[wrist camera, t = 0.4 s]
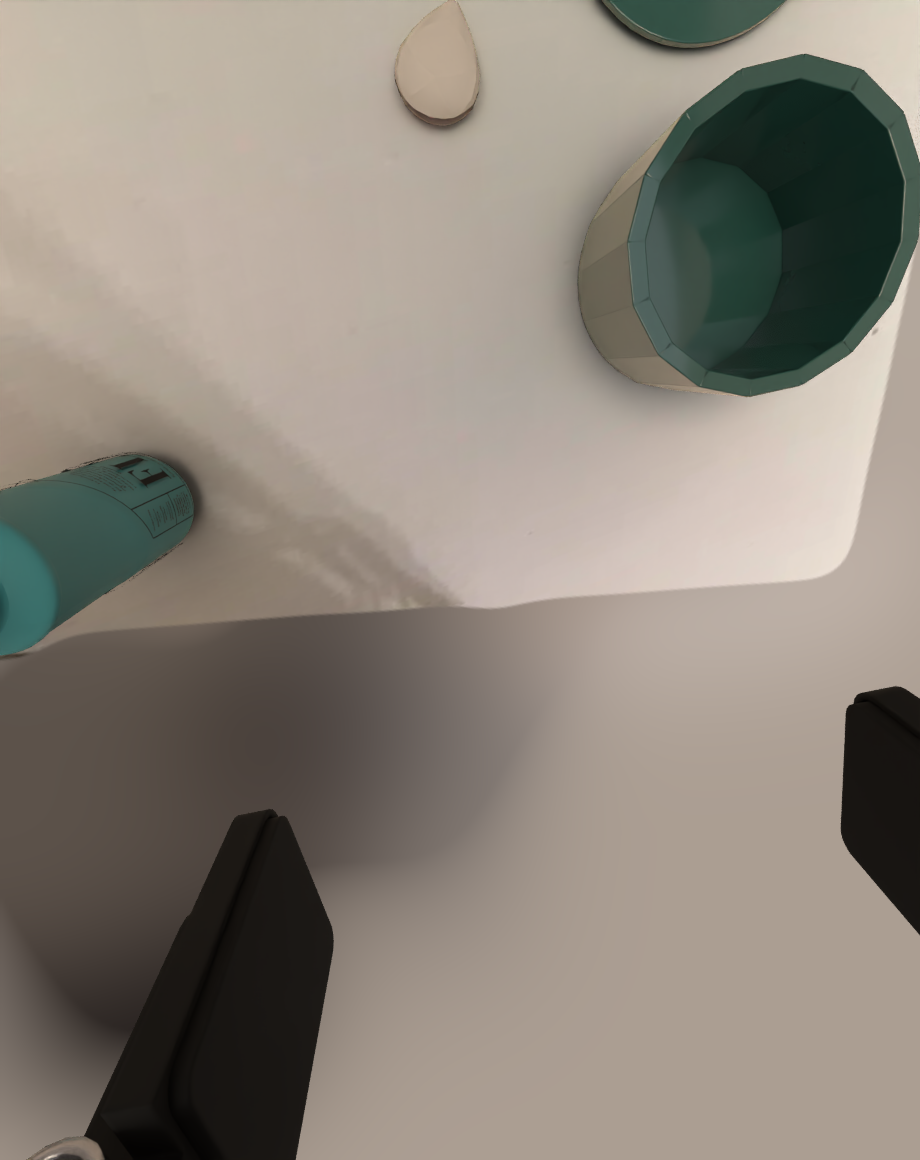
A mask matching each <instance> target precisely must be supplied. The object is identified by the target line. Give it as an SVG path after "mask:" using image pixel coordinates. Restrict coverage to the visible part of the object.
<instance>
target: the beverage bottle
mask: <svg viewBox="0 0 920 1160" xmlns="http://www.w3.org/2000/svg"><path fill="white" fill-rule="evenodd" d="M128 453H132V452H127V453H124V454H128ZM139 454H141V453H139ZM144 455H145V454H144ZM111 456H112V455H111ZM116 456H118V455H116ZM112 457H114V456H112ZM106 458H110V457H108V456H107V457H106ZM104 459H105V458H104ZM97 460H101V458H100V459H97ZM97 460H95V461H97ZM93 461H94V460H93ZM93 461H90V462H93ZM86 463H88V462H86ZM86 463H83V464H86ZM93 463H94V462H93ZM79 465H80V464H79ZM75 467H76V466H75ZM78 467H79V466H78ZM70 468H71V467H70ZM72 468H73V467H72ZM68 469H69V468H68ZM61 472H62V473H60V474H56V475H53V476H50V477H46V478H43V479H39V480H34V481H32V482H29V483H26V484H22V485H19V486H16V485H17V484H18V483H15V484H16V485H15V487H12V488H11V487H9V489H7V488H5V489H6V490H3V489H2V491H0V655H7V654H12V653H16V652H20V651H23V650H25V649H27V648H29V647H31V646H33V645H35V644H36V643H38V642H39V641H40V640H42V639H43V638H44V637H45V636H46V635H47V634H48V633H49V632H50V631H52V630H53V629H55V628H56V627H58V626H59V625H60V624H62V623H63V622H65V621H66V620H68V619H69V618H71V617H72V616H73V615H75V614H76V613H78V612H79V611H81V610H82V609H83V608H85V607H86V606H88V605H89V604H91V603H92V602H94V601H95V600H96V599H98V598H99V597H101V596H102V595H104V594H107V592H109V591H110V590H112V589H113V588H114V587H116V586H117V585H119V584H121V583H123V582H124V581H126V580H127V579H129V578H130V577H131V576H133V575H134V574H136V573H137V572H139V571H140V570H141V569H143V568H144V567H146V566H148V565H149V564H150V563H151V562H153V561H154V560H156V559H157V558H158V557H160V556H161V555H164V553H166V552H167V551H169V550H170V549H171V548H173V547H174V546H176V545H177V544H179V543H180V542H181V541H182V540H183V539H184V537H185V536H186V535H187V533H188V531H189V529H190V527H191V524H192V521H193V516H194V504H193V499H192V496H191V493H190V491H189V488H188V487H187V485H186V483H185V482H184V480H183V479H182V478H181V476H180V475H179V474H178V473H177V472H176V471H175V470H174V469H173V468H171V467H170V466H168V465H167V464H165V463H164V462H162V461H160V460H158V459H156V458H154V457H153V458H151V456H150V457H148V455H147V456H142V455H136V454H135V455H134V454H133V455H122V456H118V457H114V458H111V459H108V460H104V461H100V462H97V463H94V464H92V463H91V464H89V465H86V466H84V467H79V468H77V469H72V470H71V469H69V470H67V469H65V470H63V471H61ZM28 480H30V479H28ZM20 482H21V481H20ZM23 483H24V482H23ZM10 485H11V484H10ZM181 544H182V543H181ZM178 546H179V545H178ZM175 548H176V547H175ZM172 550H173V549H172ZM172 550H171V551H172ZM168 553H169V552H168ZM166 555H167V553H166V554H165V556H166ZM165 556H164V557H165ZM162 557H163V556H162ZM158 560H161V559H160V558H159V559H158ZM156 562H158V561H157V560H156V561H155V563H156ZM155 563H152V564H151V565H153V564H155ZM151 565H149V566H151ZM146 568H147V567H146ZM146 568H145V569H146ZM143 570H144V569H143ZM143 570H142V571H141V572H140V574H141V573H142V572H144V571H145V570H144V571H143ZM146 570H147V569H146ZM133 577H134V576H133ZM129 582H130V581H129ZM121 587H122V586H121ZM113 591H114V590H113ZM111 592H112V591H111Z"/></svg>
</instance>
